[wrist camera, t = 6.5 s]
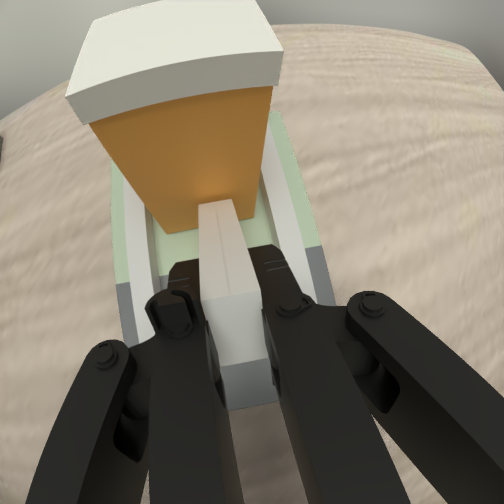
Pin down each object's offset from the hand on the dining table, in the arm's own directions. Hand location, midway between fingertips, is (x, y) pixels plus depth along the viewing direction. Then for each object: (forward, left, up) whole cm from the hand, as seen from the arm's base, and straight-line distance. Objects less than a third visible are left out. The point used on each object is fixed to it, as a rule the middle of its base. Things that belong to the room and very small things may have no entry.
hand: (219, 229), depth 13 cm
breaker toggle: (-2, +3, -3) cm, 4 cm away
